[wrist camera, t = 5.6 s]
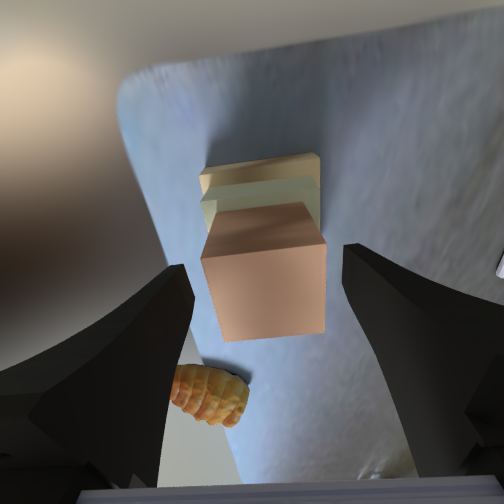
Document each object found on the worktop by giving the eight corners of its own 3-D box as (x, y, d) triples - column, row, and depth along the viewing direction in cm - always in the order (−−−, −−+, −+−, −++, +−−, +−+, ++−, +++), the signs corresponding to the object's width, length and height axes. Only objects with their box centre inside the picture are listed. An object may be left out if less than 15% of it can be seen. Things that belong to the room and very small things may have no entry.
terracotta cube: (302, 201, 12) (326, 243, 9) (305, 273, 15) (324, 332, 11) (215, 212, 13) (200, 258, 9) (231, 281, 15) (224, 342, 11)
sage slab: (310, 175, 14) (319, 187, 12) (310, 261, 17) (317, 283, 15) (208, 187, 15) (200, 201, 12) (226, 269, 18) (222, 292, 15)
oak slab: (311, 150, 16) (320, 157, 14) (312, 244, 19) (319, 261, 17) (206, 166, 16) (198, 175, 14) (226, 254, 20) (222, 272, 18)
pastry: (158, 382, 29) (145, 417, 25) (178, 349, 26) (166, 384, 22) (229, 404, 31) (227, 439, 28) (255, 376, 28) (255, 411, 25)
